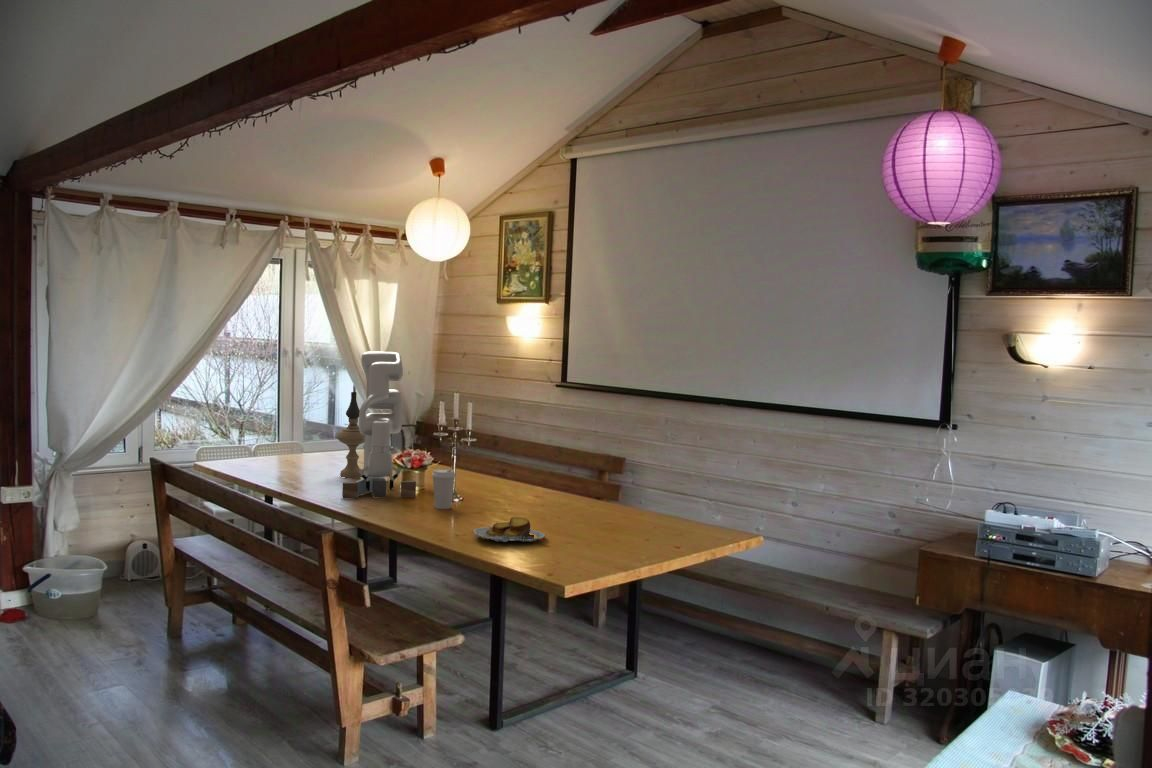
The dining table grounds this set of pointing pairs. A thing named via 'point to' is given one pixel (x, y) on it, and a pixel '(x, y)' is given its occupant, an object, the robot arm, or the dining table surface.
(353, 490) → the pair of brown blocks
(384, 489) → the dark grey block
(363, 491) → the grey curved plank
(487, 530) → the food on plate
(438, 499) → the coffee cup
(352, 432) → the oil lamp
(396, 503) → the dining table surface
